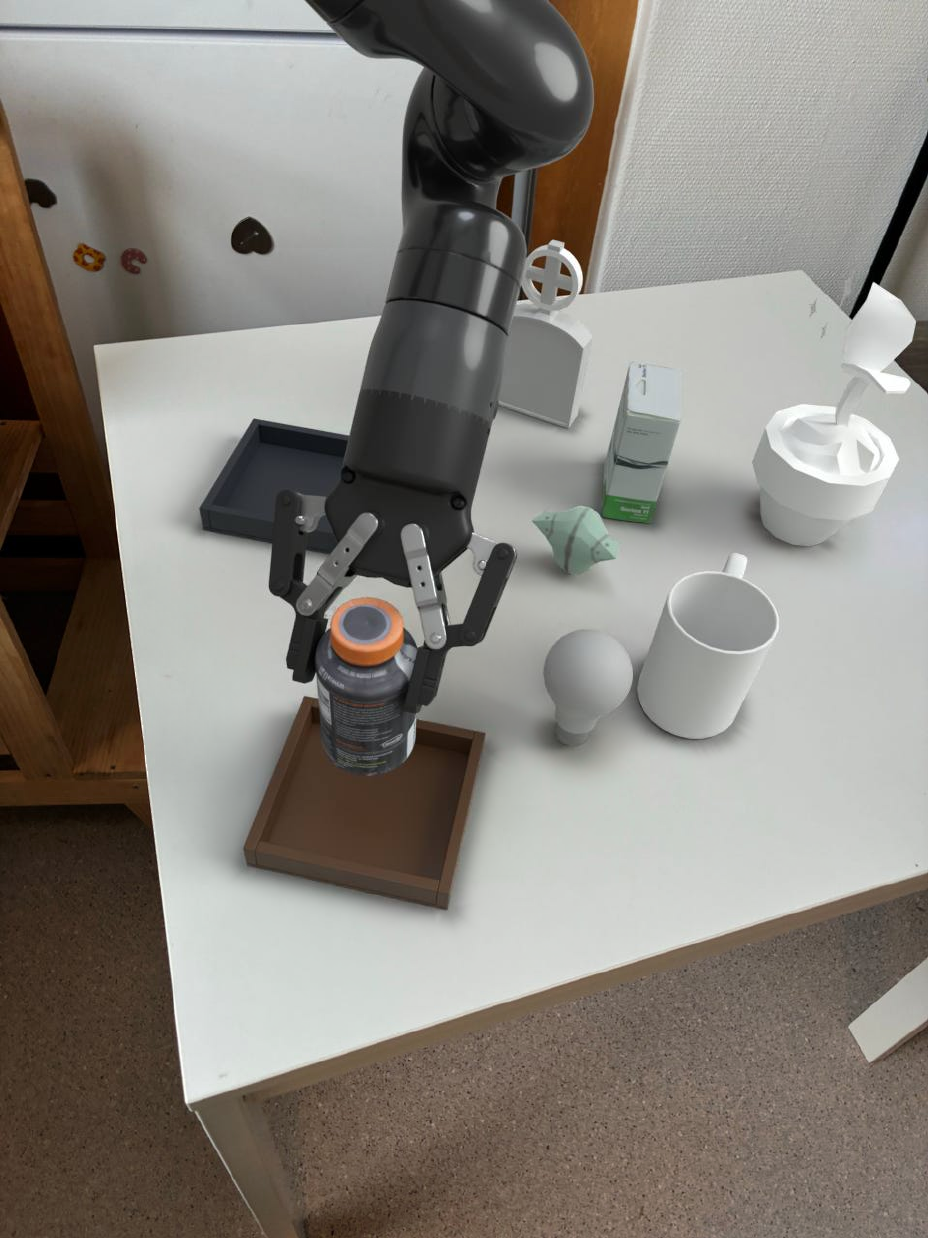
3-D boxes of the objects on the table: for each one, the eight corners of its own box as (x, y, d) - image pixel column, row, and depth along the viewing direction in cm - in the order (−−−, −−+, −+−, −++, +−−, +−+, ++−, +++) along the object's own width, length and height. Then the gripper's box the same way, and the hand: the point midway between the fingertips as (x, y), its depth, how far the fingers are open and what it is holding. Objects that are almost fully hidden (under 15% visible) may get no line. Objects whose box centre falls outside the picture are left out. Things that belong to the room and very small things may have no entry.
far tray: (203, 530, 80) (198, 508, 78) (256, 439, 89) (253, 417, 87) (372, 562, 79) (372, 541, 77) (409, 467, 88) (410, 445, 86)
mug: (724, 755, 68) (768, 669, 60) (624, 718, 70) (654, 629, 62) (754, 644, 76) (797, 555, 68) (663, 613, 77) (695, 522, 69)
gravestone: (568, 428, 94) (599, 263, 80) (486, 401, 96) (503, 235, 83) (577, 415, 96) (609, 250, 82) (497, 388, 98) (515, 224, 84)
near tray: (246, 865, 60) (242, 848, 58) (306, 714, 68) (304, 695, 66) (447, 910, 58) (449, 894, 57) (483, 750, 67) (485, 732, 65)
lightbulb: (607, 708, 70) (637, 614, 62) (612, 775, 66) (645, 684, 58) (529, 702, 70) (548, 607, 62) (530, 770, 66) (551, 677, 58)
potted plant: (738, 474, 91) (831, 229, 72) (856, 503, 89) (982, 260, 70) (724, 556, 83) (824, 304, 64) (853, 590, 81) (995, 341, 62)
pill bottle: (432, 727, 58) (442, 611, 50) (381, 795, 55) (382, 682, 46) (356, 686, 60) (353, 567, 51) (302, 750, 56) (289, 632, 48)
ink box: (651, 526, 85) (683, 421, 76) (599, 517, 85) (624, 412, 76) (653, 468, 90) (682, 365, 82) (604, 461, 91) (628, 357, 82)
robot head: (521, 564, 80) (530, 506, 75) (543, 538, 83) (553, 480, 77) (601, 602, 78) (617, 545, 73) (621, 574, 80) (637, 517, 75)
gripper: (282, 359, 47) (212, 670, 48) (550, 419, 45) (471, 740, 46) (324, 390, 54) (262, 659, 56) (555, 443, 53) (487, 719, 54)
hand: (357, 694), depth 51 cm, fingers closed on pill bottle, 6 cm apart
